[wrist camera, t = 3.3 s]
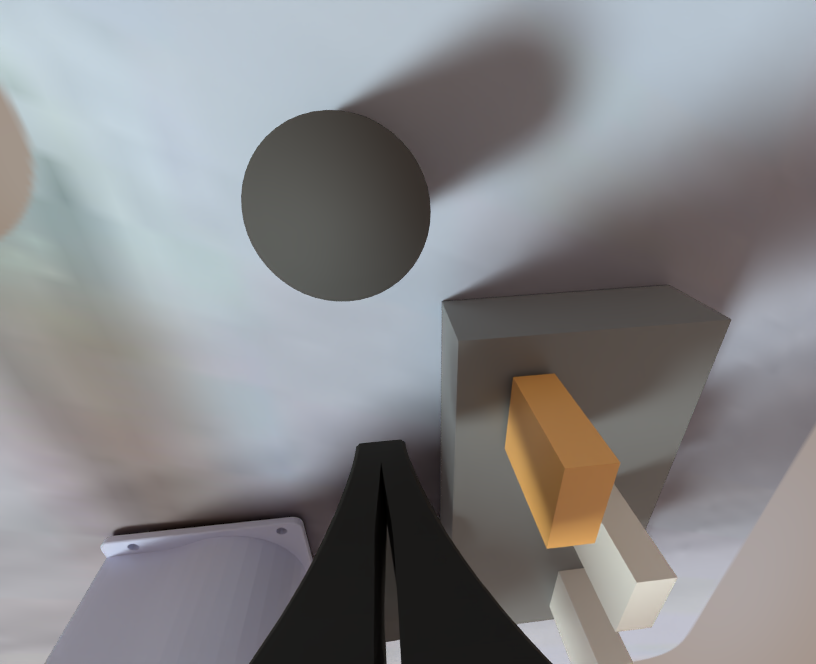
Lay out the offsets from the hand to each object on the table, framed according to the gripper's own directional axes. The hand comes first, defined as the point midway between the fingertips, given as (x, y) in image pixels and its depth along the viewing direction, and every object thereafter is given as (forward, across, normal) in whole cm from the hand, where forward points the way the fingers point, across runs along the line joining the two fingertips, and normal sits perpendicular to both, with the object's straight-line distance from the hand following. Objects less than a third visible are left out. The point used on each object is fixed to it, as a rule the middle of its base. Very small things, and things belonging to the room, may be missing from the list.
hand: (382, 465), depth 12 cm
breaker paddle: (+2, -5, 0) cm, 5 cm away
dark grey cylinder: (+5, 0, -8) cm, 9 cm away
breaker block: (+5, -7, +6) cm, 11 cm away
